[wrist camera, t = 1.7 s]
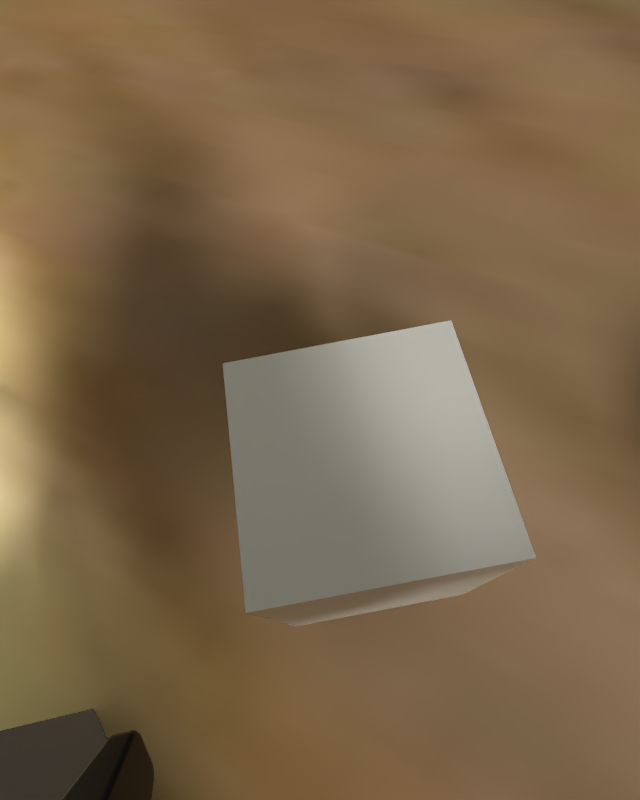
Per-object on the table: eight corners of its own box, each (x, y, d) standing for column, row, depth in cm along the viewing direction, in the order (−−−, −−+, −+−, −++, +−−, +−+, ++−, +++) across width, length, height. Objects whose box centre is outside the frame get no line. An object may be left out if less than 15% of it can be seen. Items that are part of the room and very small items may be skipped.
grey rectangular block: (462, 594, 15) (536, 557, 8) (296, 626, 15) (245, 613, 8) (418, 440, 17) (451, 320, 11) (275, 467, 17) (222, 363, 11)
